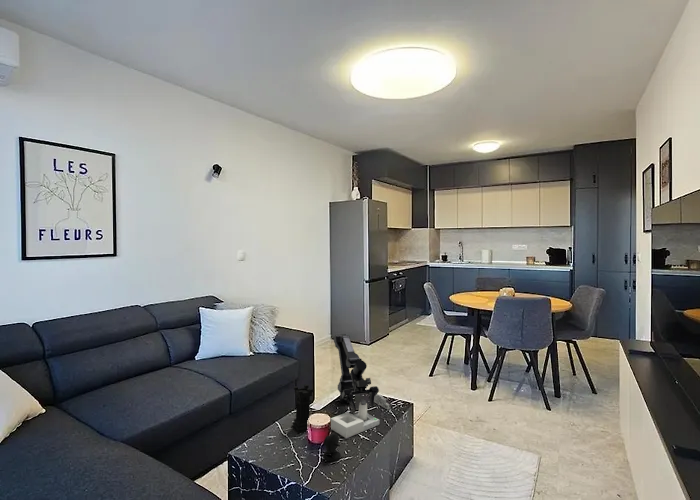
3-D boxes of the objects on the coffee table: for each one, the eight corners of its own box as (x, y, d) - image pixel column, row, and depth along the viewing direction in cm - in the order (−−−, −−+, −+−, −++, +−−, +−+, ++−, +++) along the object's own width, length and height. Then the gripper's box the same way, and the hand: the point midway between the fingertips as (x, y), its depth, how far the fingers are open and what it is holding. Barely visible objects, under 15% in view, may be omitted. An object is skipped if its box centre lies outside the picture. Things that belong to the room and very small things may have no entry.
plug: (356, 424, 195) (357, 400, 194) (361, 420, 198) (361, 397, 198) (363, 426, 192) (364, 402, 192) (368, 423, 196) (368, 399, 196)
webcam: (330, 450, 170) (330, 427, 169) (344, 455, 166) (345, 432, 165) (319, 458, 163) (319, 434, 163) (333, 464, 159) (334, 440, 159)
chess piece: (297, 434, 182) (299, 392, 182) (291, 427, 189) (292, 386, 189) (313, 430, 187) (314, 389, 186) (306, 423, 193) (307, 384, 193)
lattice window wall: (389, 409, 213) (390, 398, 213) (387, 410, 212) (387, 399, 212) (375, 401, 223) (376, 391, 222) (373, 402, 222) (373, 392, 221)
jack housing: (330, 428, 189) (330, 418, 189) (363, 416, 204) (363, 406, 204) (346, 438, 180) (346, 427, 180) (379, 424, 195) (379, 414, 195)
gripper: (344, 373, 195) (350, 404, 185) (378, 370, 201) (386, 400, 191) (339, 383, 203) (344, 413, 193) (372, 380, 209) (379, 409, 199)
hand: (363, 408), depth 194 cm, fingers open, 9 cm apart
